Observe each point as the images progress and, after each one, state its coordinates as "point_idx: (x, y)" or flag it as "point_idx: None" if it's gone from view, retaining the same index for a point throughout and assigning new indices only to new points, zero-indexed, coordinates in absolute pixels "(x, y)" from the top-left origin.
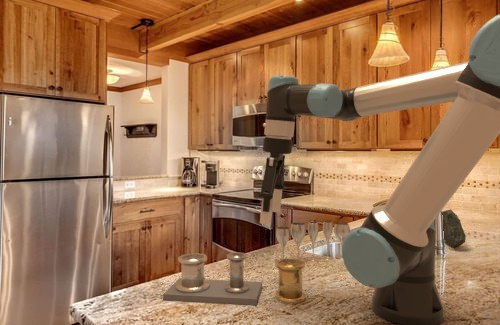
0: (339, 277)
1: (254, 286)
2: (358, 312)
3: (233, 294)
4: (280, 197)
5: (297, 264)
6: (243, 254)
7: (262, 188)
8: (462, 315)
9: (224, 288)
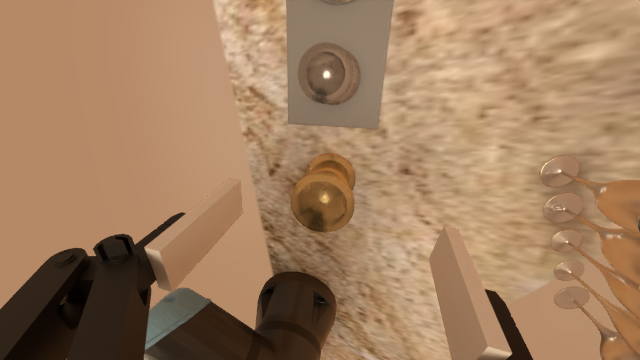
0: (427, 264)
1: (350, 114)
2: (289, 255)
3: None
4: (445, 325)
5: (310, 217)
6: (330, 95)
7: (22, 292)
8: None
9: None
